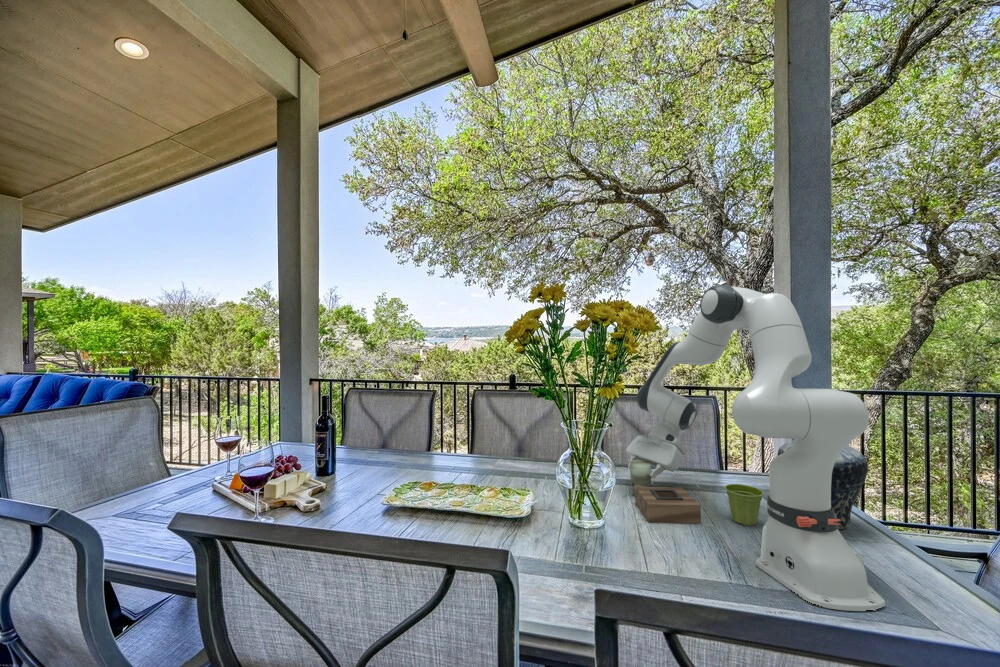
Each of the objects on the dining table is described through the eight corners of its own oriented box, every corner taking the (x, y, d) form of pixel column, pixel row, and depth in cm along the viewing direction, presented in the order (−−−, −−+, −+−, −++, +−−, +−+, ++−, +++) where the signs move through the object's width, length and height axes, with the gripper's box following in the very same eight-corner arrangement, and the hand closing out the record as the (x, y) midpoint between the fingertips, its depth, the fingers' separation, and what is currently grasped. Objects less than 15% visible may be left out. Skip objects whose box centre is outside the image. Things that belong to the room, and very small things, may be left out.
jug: (891, 540, 104) (887, 418, 105) (811, 540, 105) (808, 418, 105) (827, 507, 125) (825, 406, 126) (761, 507, 125) (759, 406, 126)
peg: (654, 499, 133) (653, 465, 133) (633, 498, 134) (632, 465, 134) (648, 491, 140) (647, 460, 140) (628, 491, 140) (628, 459, 140)
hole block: (700, 523, 115) (700, 503, 115) (648, 522, 116) (648, 502, 116) (682, 503, 129) (681, 486, 129) (635, 503, 130) (635, 485, 130)
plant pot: (753, 514, 120) (753, 484, 121) (771, 529, 111) (771, 496, 111) (719, 513, 121) (719, 483, 121) (734, 528, 112) (733, 495, 112)
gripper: (635, 427, 150) (613, 458, 145) (681, 439, 131) (658, 475, 127) (645, 439, 151) (624, 470, 147) (692, 452, 133) (669, 488, 128)
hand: (640, 472), depth 137 cm, fingers open, 8 cm apart
